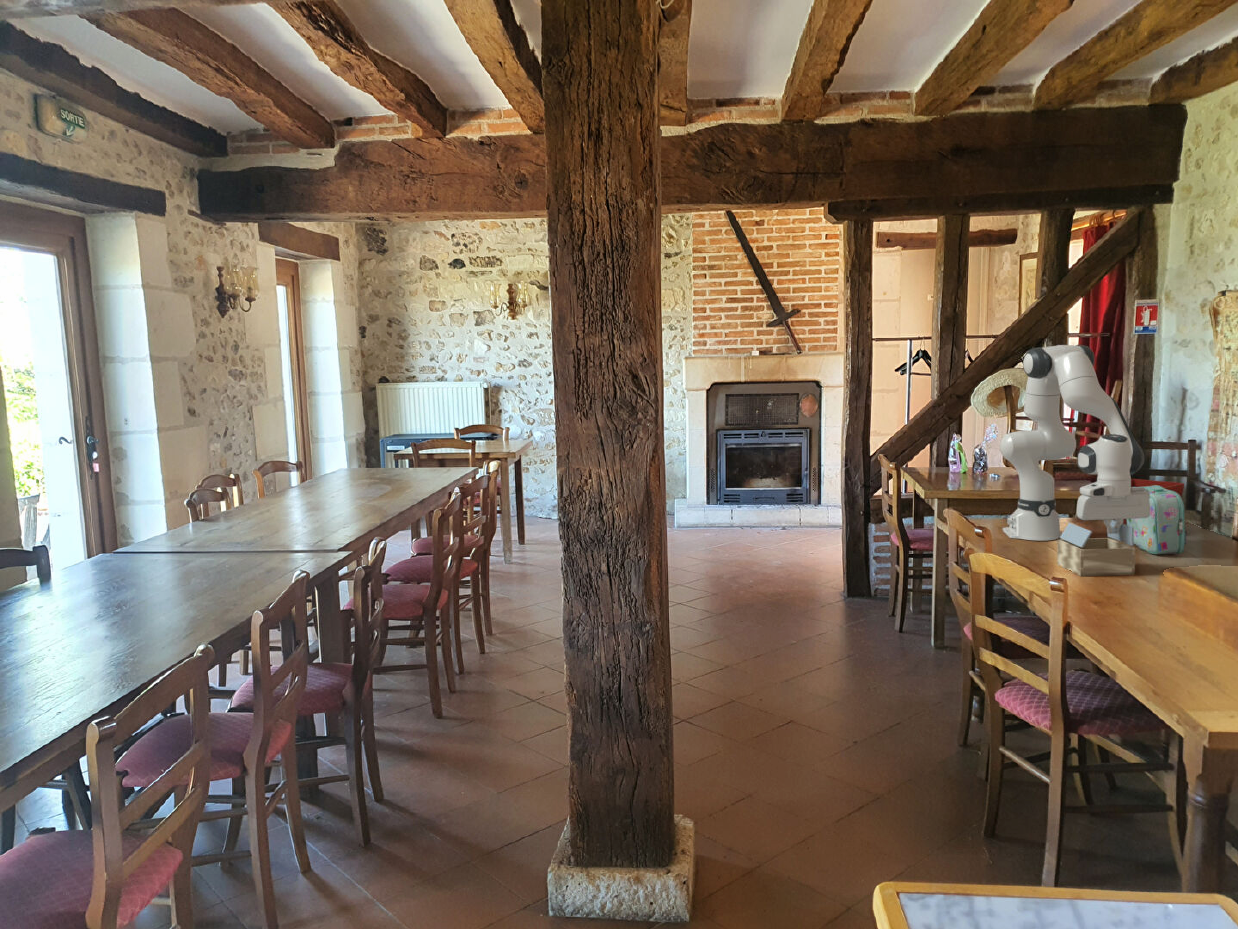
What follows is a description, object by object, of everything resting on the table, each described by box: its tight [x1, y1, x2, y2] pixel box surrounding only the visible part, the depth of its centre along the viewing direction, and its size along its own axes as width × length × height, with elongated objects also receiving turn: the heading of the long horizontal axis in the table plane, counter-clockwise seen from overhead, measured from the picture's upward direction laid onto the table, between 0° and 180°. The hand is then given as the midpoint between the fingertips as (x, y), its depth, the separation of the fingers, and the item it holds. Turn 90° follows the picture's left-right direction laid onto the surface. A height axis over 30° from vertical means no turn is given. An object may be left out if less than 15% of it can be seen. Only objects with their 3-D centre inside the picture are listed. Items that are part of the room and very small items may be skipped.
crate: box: [1056, 537, 1136, 577], centre depth 254 cm, size 15×16×8 cm
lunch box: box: [1127, 485, 1187, 555], centre depth 274 cm, size 27×10×21 cm, turn 168°
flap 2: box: [1107, 519, 1135, 547], centre depth 252 cm, size 14×1×6 cm, turn 177°
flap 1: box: [1059, 522, 1093, 548], centre depth 253 cm, size 14×1×6 cm, turn 177°
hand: (1113, 533), depth 252 cm, fingers closed
